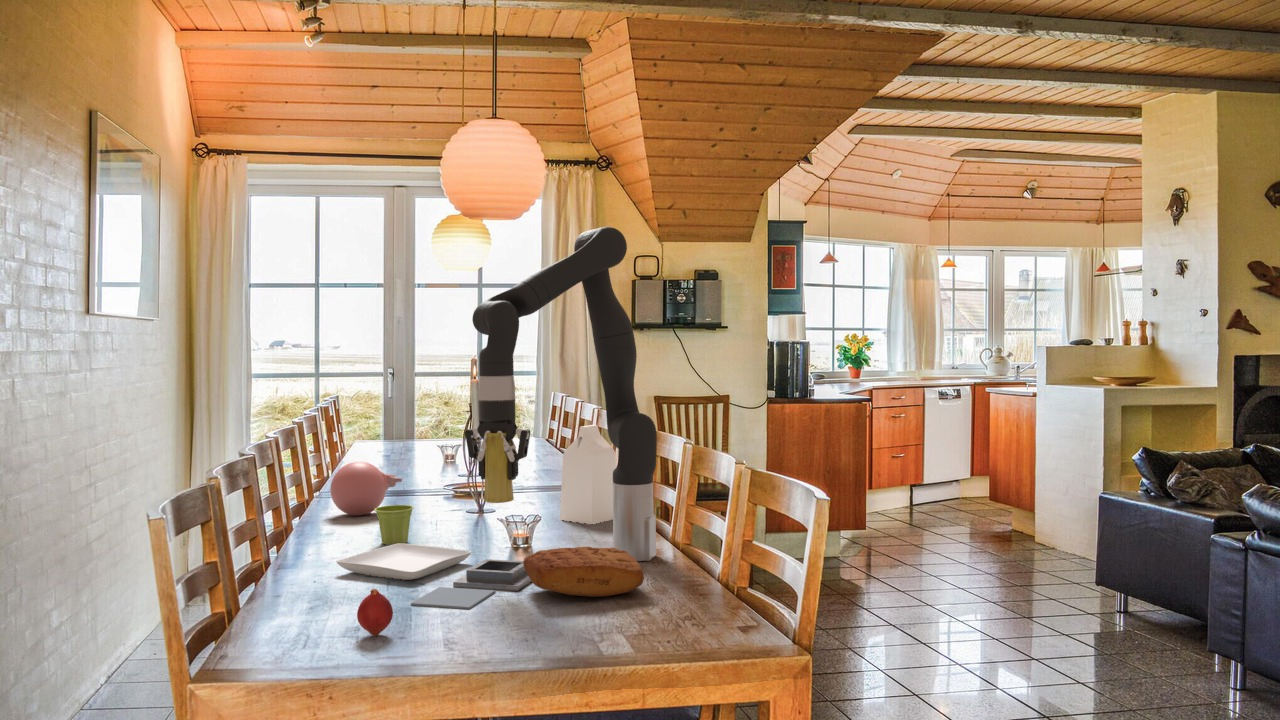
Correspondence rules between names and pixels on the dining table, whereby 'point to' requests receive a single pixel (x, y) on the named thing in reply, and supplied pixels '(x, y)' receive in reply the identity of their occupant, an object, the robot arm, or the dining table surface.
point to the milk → (588, 478)
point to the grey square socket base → (495, 576)
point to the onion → (375, 613)
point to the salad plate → (403, 561)
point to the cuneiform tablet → (584, 571)
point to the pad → (453, 598)
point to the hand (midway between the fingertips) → (498, 478)
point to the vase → (497, 470)
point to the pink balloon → (360, 488)
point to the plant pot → (394, 523)
